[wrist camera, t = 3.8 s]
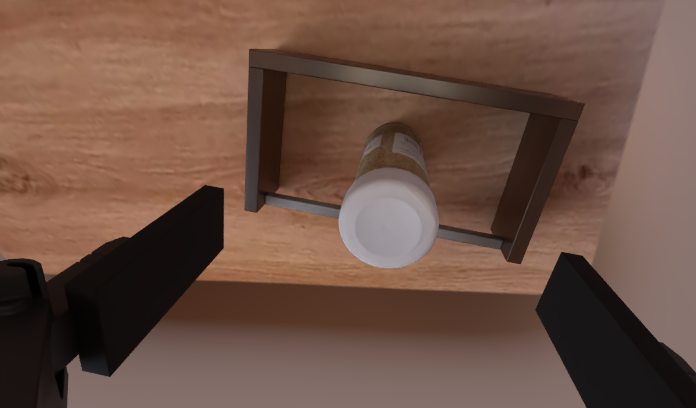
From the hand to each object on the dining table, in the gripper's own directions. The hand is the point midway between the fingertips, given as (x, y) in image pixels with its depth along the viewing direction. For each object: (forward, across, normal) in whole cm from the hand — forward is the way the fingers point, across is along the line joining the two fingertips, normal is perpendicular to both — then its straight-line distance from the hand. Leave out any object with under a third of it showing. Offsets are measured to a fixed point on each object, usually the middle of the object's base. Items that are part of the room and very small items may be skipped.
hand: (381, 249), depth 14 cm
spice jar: (+16, 0, 0) cm, 16 cm away
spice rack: (+15, 0, 0) cm, 15 cm away
